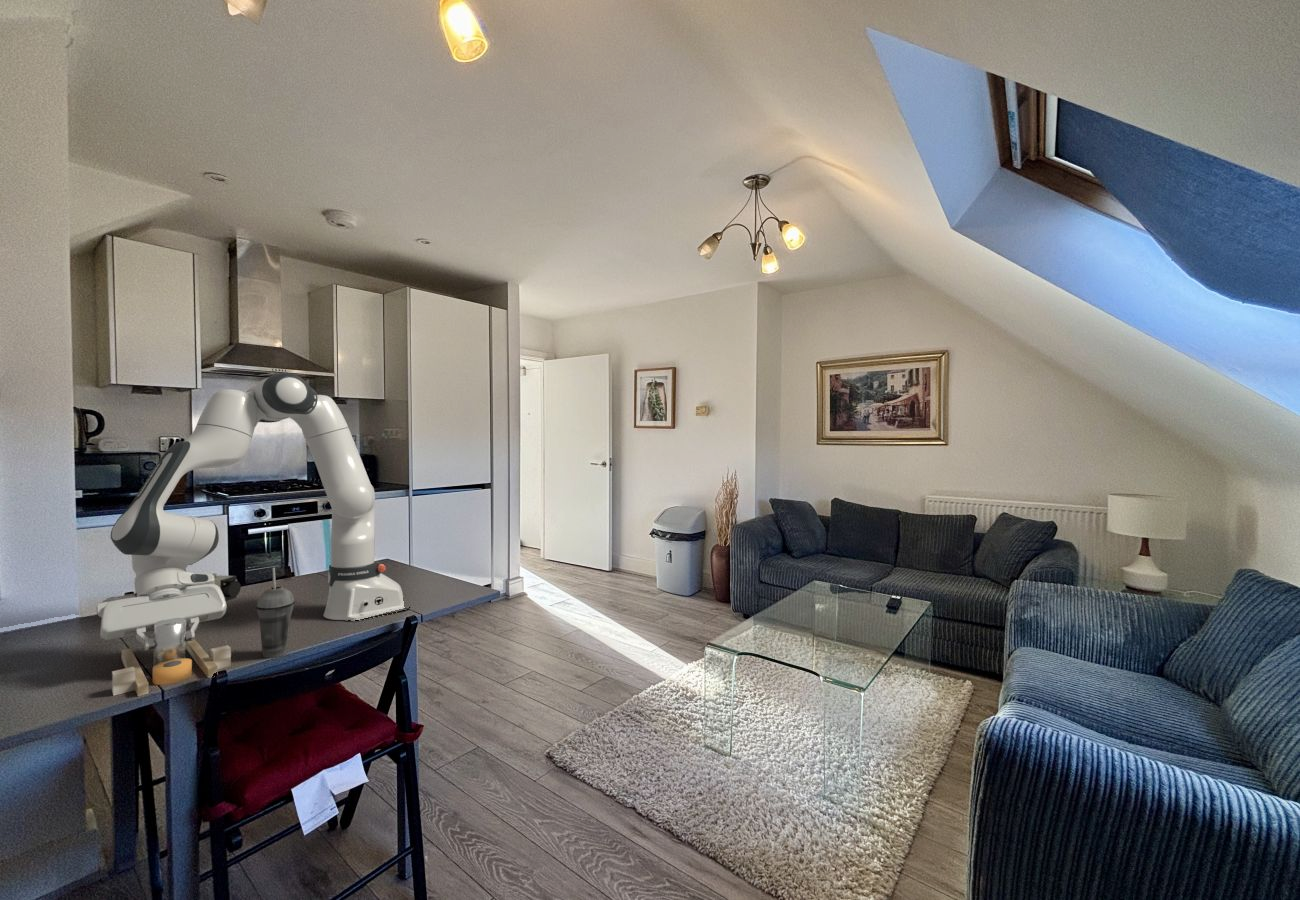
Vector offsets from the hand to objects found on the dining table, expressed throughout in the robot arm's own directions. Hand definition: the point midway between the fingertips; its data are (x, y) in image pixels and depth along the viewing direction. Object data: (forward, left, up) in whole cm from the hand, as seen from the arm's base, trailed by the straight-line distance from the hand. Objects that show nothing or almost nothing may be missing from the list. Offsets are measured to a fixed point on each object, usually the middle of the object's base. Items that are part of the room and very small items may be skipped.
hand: (170, 643), depth 111 cm
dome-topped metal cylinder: (0, -1, -5) cm, 6 cm away
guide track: (+1, -3, -6) cm, 7 cm away
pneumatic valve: (-4, -40, -6) cm, 41 cm away
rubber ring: (-1, +4, -6) cm, 8 cm away
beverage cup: (-18, +1, -6) cm, 19 cm away
